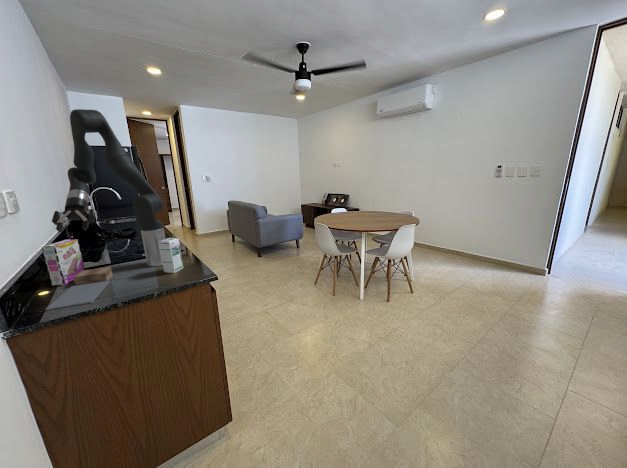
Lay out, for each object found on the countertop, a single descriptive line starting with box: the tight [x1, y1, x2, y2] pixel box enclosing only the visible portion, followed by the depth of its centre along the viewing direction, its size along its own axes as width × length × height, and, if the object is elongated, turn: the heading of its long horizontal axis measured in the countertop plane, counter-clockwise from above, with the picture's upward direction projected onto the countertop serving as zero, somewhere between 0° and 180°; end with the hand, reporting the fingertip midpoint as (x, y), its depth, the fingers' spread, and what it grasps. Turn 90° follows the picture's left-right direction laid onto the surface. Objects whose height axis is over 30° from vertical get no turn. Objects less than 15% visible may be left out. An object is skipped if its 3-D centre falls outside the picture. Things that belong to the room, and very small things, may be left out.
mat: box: [45, 280, 110, 312], centre depth 92 cm, size 12×18×1 cm, turn 23°
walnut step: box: [73, 266, 114, 286], centre depth 104 cm, size 10×7×4 cm
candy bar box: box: [41, 238, 86, 287], centre depth 103 cm, size 11×5×16 cm, turn 5°
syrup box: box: [158, 237, 185, 274], centre depth 112 cm, size 6×6×14 cm
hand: (72, 230), depth 111 cm, fingers open, 8 cm apart
